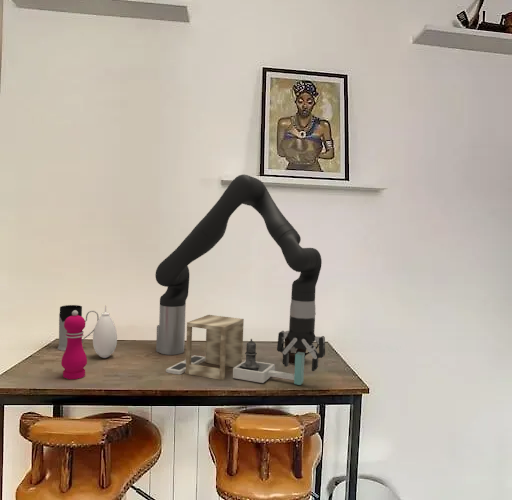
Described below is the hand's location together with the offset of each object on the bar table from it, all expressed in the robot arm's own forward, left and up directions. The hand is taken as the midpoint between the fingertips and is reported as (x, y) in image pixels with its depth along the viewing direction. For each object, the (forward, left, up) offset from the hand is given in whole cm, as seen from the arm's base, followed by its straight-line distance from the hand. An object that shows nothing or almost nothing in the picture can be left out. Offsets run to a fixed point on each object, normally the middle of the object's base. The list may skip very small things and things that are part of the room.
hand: (300, 368), depth 145 cm
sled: (-9, 0, -4) cm, 11 cm away
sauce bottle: (-68, -5, -5) cm, 68 cm away
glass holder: (-84, 0, -5) cm, 84 cm away
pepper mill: (-63, -25, -5) cm, 68 cm away
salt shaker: (-16, 0, -5) cm, 17 cm away
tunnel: (-28, 0, -5) cm, 29 cm away
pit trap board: (-38, 0, -5) cm, 39 cm away
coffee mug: (-7, +22, -5) cm, 24 cm away
